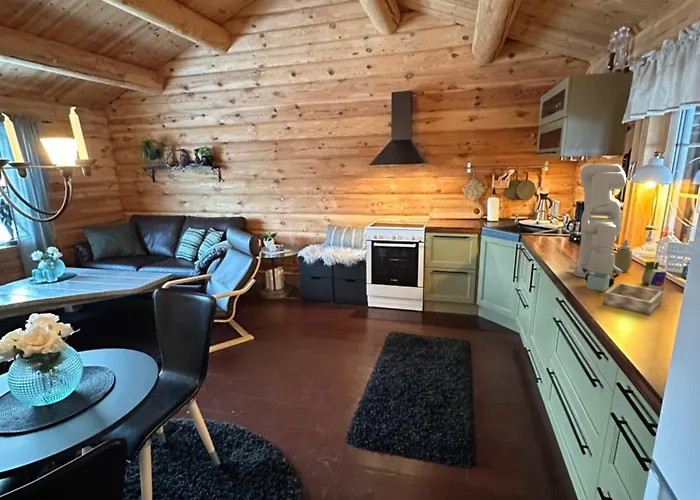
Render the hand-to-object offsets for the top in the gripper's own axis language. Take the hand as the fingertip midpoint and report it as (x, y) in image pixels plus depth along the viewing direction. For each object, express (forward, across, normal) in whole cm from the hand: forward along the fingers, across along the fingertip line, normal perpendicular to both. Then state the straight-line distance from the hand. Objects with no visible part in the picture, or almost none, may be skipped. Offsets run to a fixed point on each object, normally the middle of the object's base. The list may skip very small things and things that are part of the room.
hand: (598, 284), depth 185 cm
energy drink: (+2, +21, +8) cm, 22 cm away
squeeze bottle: (+2, -1, +44) cm, 44 cm away
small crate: (+2, 0, 0) cm, 2 cm away
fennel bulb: (+2, +15, +26) cm, 30 cm away
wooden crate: (+3, +17, -12) cm, 21 cm away
